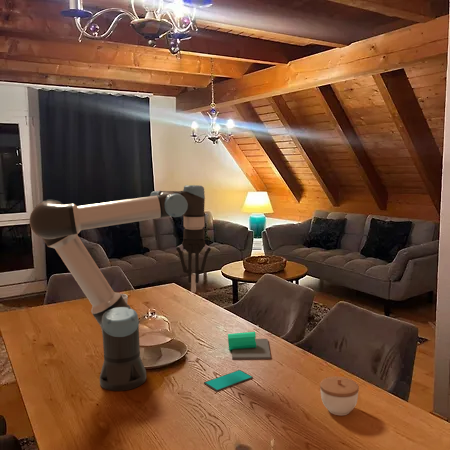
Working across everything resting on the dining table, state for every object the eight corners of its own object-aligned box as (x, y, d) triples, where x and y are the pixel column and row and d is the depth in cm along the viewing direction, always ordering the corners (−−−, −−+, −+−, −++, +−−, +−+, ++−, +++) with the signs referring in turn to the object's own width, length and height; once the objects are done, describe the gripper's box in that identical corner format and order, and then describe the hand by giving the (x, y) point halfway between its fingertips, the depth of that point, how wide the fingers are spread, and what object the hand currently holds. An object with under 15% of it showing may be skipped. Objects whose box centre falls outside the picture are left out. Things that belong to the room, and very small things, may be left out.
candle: (227, 331, 182) (258, 328, 182) (228, 337, 187) (258, 335, 187) (228, 346, 179) (260, 343, 179) (229, 352, 184) (260, 349, 184)
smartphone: (203, 382, 156) (239, 369, 165) (203, 384, 156) (239, 371, 165) (216, 390, 150) (253, 377, 159) (216, 393, 150) (253, 379, 159)
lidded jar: (334, 423, 131) (335, 391, 130) (312, 405, 141) (312, 375, 139) (366, 414, 135) (366, 383, 134) (342, 397, 145) (342, 368, 143)
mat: (270, 359, 174) (270, 356, 174) (232, 359, 174) (232, 357, 174) (267, 340, 192) (267, 338, 192) (232, 340, 192) (232, 339, 192)
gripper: (212, 226, 178) (211, 289, 181) (177, 226, 178) (177, 288, 181) (211, 229, 170) (210, 294, 173) (174, 229, 171) (174, 293, 173)
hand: (193, 291), depth 177 cm, fingers closed
